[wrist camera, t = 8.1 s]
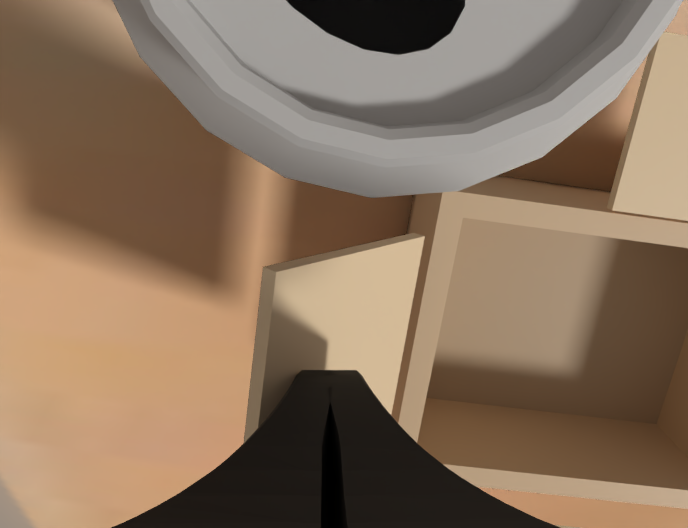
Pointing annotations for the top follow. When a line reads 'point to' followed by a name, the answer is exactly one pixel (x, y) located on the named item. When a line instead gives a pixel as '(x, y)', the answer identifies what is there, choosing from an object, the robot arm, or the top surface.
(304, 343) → the long flap
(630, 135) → the carton
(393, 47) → the can
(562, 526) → the side flap
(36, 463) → the top surface
